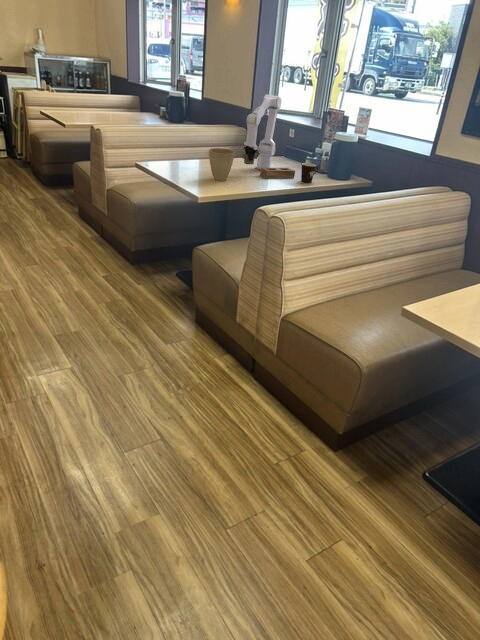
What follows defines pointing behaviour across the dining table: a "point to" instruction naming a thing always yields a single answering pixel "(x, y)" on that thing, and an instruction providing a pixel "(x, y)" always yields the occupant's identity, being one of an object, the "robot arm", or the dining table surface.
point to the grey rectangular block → (246, 158)
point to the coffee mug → (308, 172)
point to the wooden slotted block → (277, 172)
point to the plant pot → (221, 162)
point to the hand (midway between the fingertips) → (249, 160)
